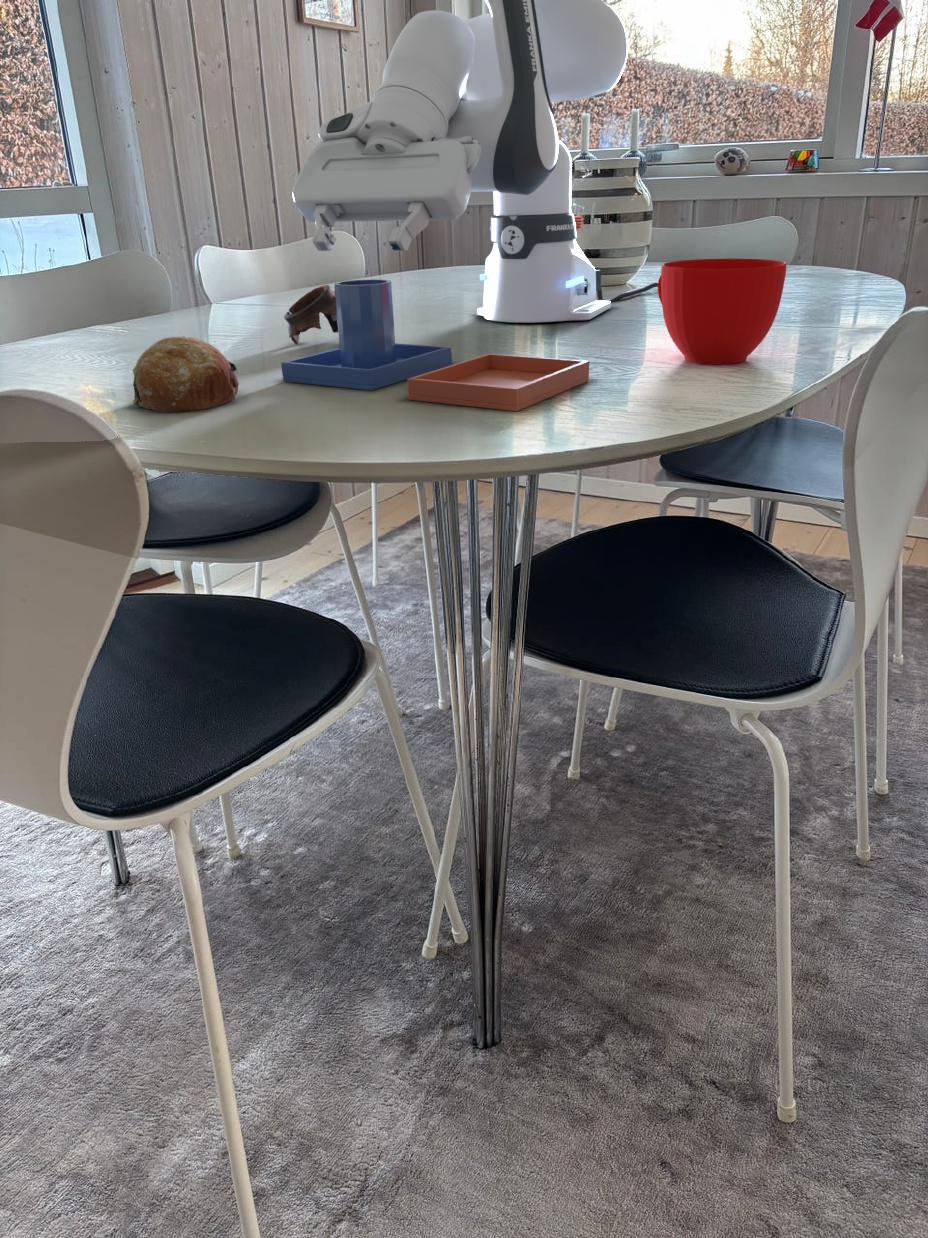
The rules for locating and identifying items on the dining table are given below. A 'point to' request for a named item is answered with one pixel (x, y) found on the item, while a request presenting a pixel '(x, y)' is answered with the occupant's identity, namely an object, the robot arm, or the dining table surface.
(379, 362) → the blue tumbler
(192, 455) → the dining table surface
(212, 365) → the bread roll
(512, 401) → the terracotta tray
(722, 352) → the ceramic cup
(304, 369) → the blue tray
